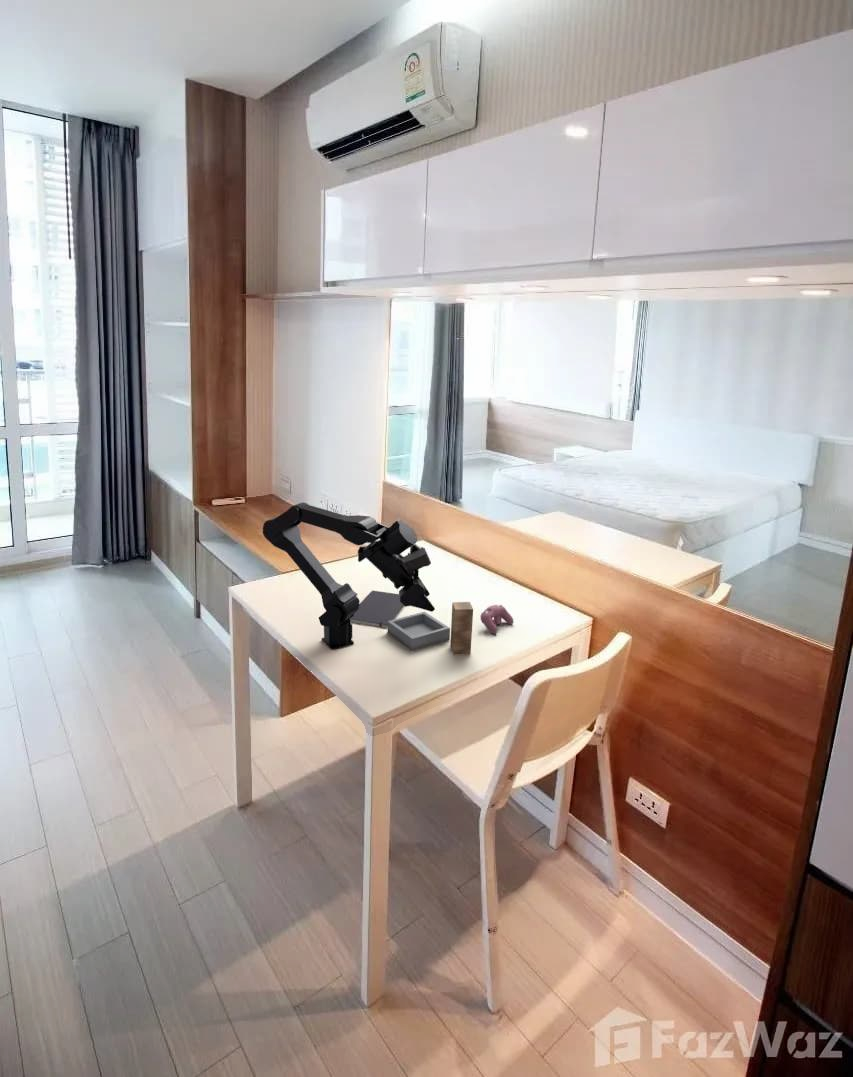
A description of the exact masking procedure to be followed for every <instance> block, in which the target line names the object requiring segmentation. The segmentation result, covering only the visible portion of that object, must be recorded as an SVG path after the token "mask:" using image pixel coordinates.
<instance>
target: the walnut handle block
mask: <svg viewBox="0 0 853 1077" xmlns="http://www.w3.org/2000/svg"><path fill="white" fill-rule="evenodd" d="M451 604H452V605H451V607H452V608H451V623H450V626H451V627H450V640H449V641H450V642H449V643H450V644H449V645H450V650H451V653H452V655H456V654H457V655H471V653H472V651H471V650H472V638H473V636H472V634H473V618H474V607H473V605H472V604H471V602H470V601H453V602H452V603H451Z"/></svg>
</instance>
